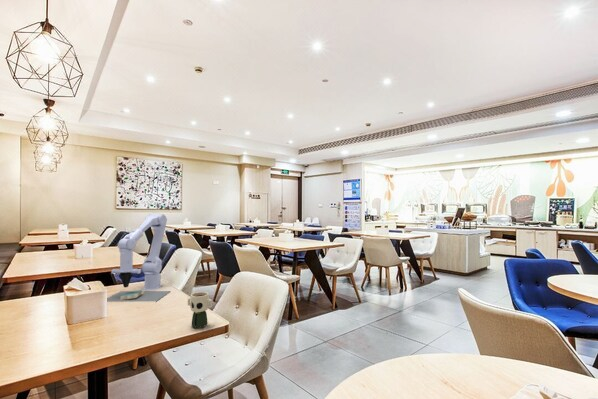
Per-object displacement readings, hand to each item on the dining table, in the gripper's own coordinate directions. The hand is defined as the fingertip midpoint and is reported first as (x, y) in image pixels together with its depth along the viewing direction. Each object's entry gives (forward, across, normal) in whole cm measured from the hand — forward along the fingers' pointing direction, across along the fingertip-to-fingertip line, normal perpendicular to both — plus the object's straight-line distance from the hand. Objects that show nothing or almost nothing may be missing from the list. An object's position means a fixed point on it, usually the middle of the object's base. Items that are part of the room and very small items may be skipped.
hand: (126, 286), depth 157 cm
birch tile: (+5, 0, 0) cm, 5 cm away
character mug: (+6, +50, -37) cm, 63 cm away
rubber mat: (+6, +5, +2) cm, 8 cm away
